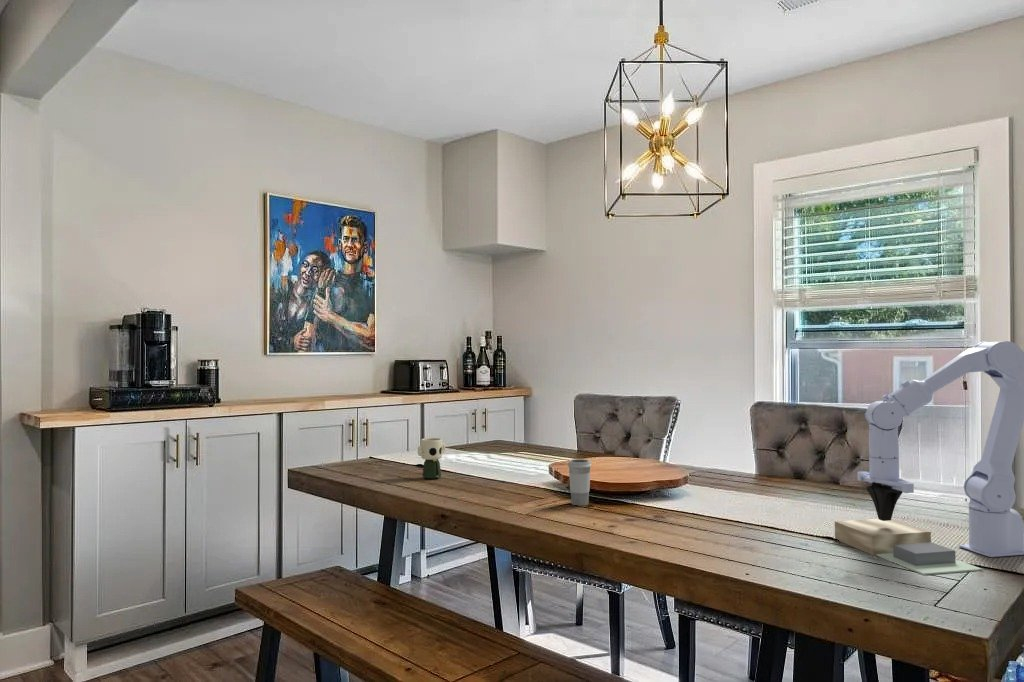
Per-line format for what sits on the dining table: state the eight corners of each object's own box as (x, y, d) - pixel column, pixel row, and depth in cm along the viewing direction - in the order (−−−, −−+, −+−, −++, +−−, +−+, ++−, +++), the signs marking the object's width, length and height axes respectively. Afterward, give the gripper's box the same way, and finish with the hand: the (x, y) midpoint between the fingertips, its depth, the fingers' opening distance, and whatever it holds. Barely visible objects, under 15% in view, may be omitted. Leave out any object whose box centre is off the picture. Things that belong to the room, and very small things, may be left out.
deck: (889, 535, 158) (889, 518, 158) (931, 550, 146) (930, 531, 146) (834, 539, 155) (834, 521, 155) (872, 554, 143) (872, 535, 143)
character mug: (424, 482, 224) (424, 441, 224) (412, 479, 229) (411, 439, 229) (451, 477, 231) (451, 438, 231) (438, 474, 237) (438, 436, 237)
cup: (588, 507, 187) (588, 463, 187) (564, 506, 189) (564, 462, 189) (594, 502, 194) (594, 459, 194) (571, 500, 196) (570, 458, 196)
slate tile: (955, 550, 137) (955, 562, 137) (931, 542, 143) (931, 554, 143) (915, 553, 135) (916, 565, 135) (893, 545, 141) (893, 556, 141)
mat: (930, 551, 145) (930, 550, 145) (982, 570, 133) (982, 568, 133) (876, 555, 143) (876, 554, 143) (923, 575, 131) (923, 573, 131)
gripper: (845, 452, 156) (846, 513, 156) (892, 463, 142) (893, 529, 142) (872, 451, 158) (873, 511, 158) (922, 461, 143) (923, 527, 143)
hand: (884, 519), depth 150 cm, fingers closed
